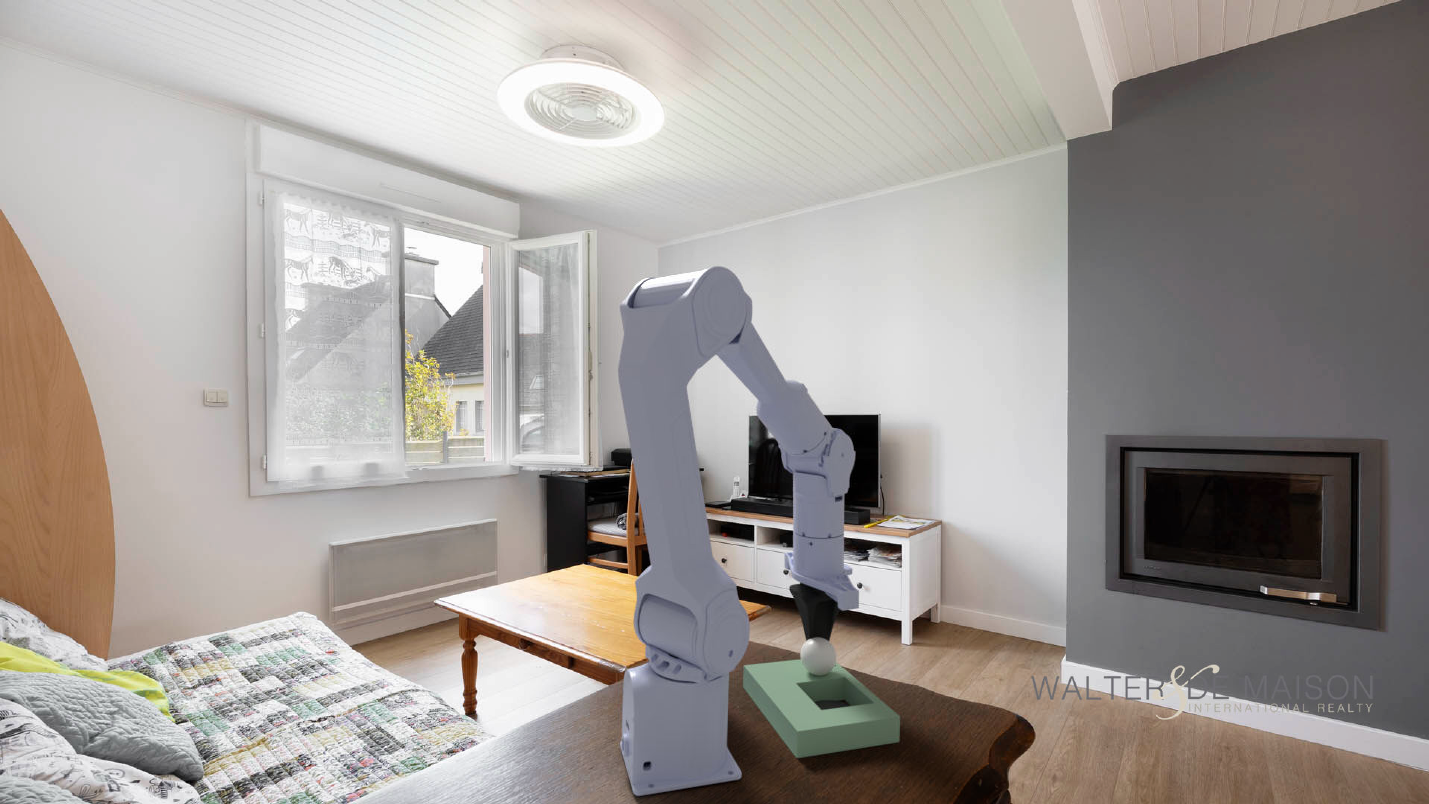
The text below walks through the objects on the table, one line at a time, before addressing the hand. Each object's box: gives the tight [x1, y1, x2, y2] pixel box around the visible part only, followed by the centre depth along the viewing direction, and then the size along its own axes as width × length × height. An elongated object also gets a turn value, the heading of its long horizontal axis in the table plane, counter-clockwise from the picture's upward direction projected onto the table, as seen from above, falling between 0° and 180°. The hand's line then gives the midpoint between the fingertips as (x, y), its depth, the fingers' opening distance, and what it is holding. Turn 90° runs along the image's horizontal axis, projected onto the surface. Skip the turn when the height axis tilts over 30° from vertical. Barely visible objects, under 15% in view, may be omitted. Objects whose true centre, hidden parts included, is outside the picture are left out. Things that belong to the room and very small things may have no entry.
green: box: [742, 658, 901, 759], centre depth 66 cm, size 11×14×2 cm
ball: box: [799, 637, 837, 675], centre depth 70 cm, size 4×4×4 cm
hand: (818, 648), depth 71 cm, fingers closed, pressing on ball
